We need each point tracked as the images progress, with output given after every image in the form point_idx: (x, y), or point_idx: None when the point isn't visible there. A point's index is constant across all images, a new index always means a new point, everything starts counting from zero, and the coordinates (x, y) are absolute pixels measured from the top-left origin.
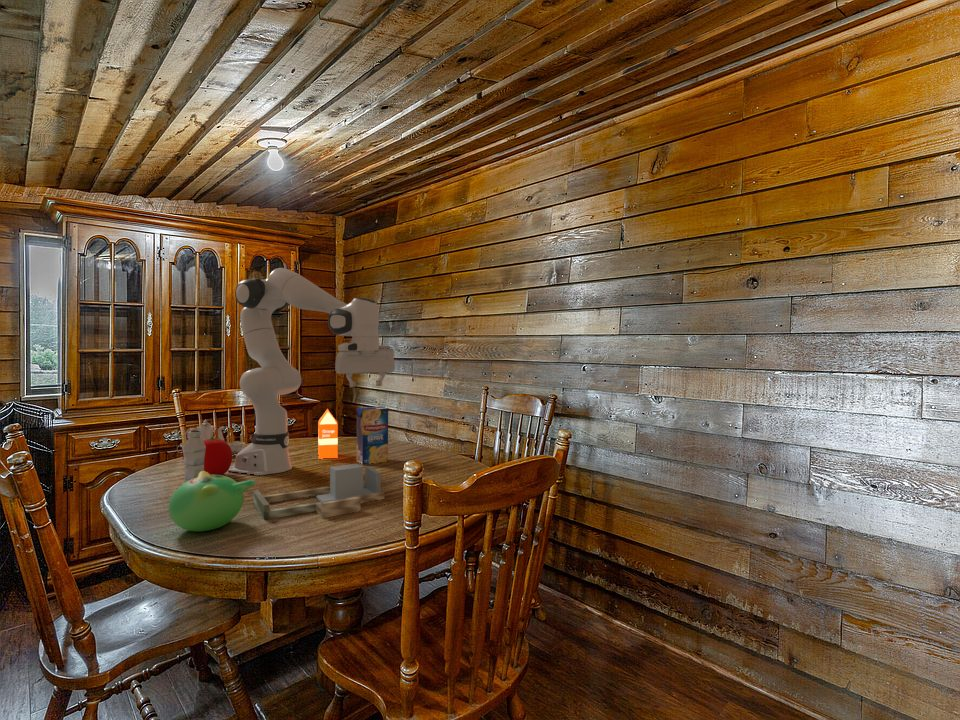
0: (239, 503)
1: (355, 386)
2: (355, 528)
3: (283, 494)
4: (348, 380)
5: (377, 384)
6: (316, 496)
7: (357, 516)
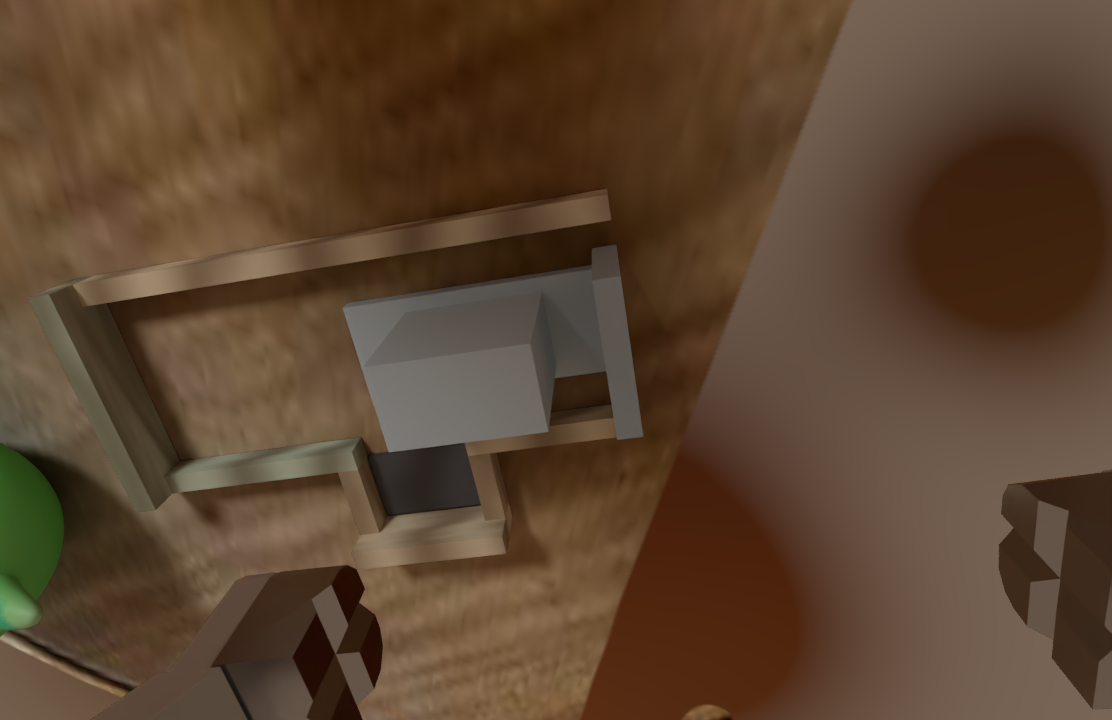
0: (45, 579)
1: (380, 660)
2: (471, 644)
3: (184, 289)
4: (113, 716)
5: (1023, 586)
6: (344, 306)
7: (494, 558)
